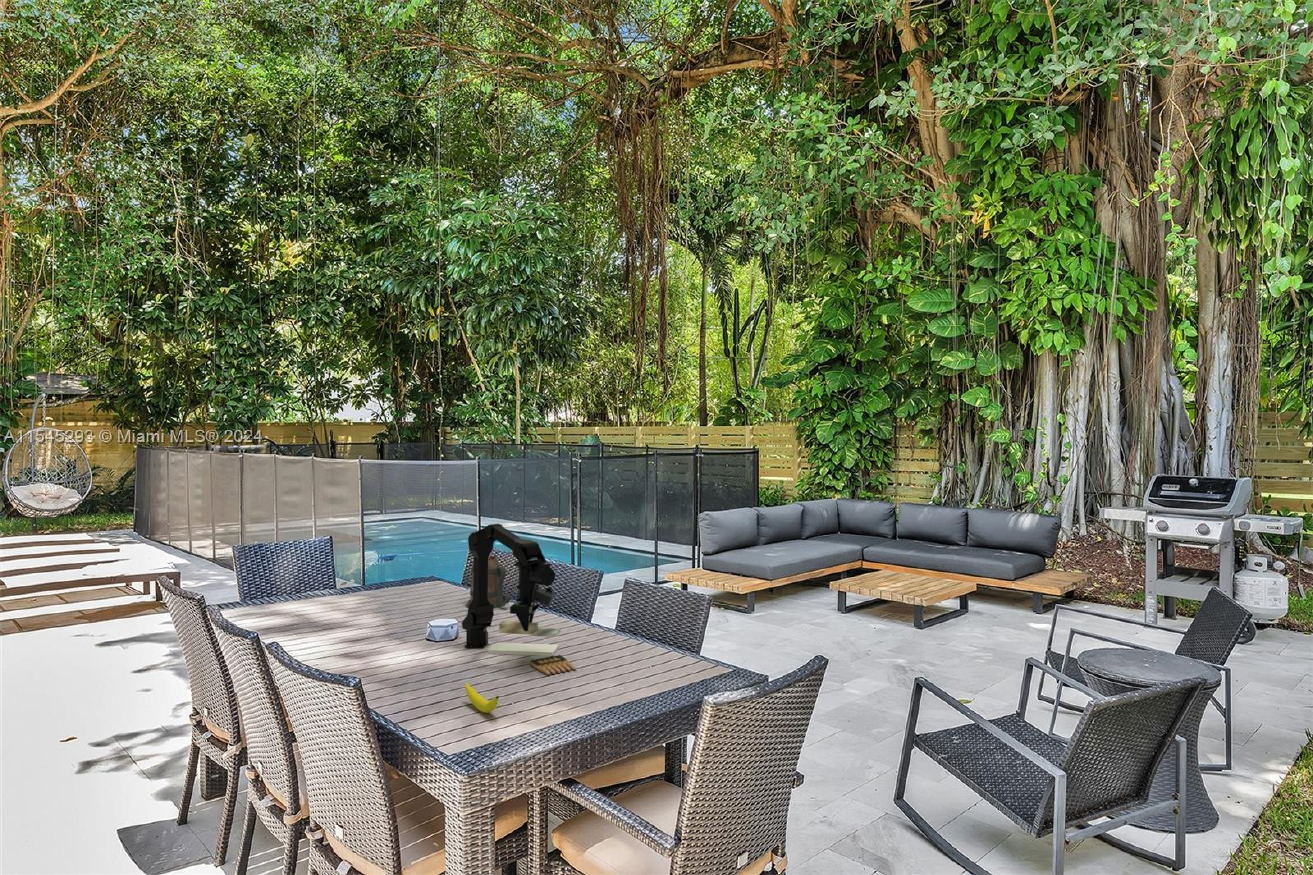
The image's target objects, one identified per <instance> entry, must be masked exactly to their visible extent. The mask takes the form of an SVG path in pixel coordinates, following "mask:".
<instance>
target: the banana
mask: <svg viewBox="0 0 1313 875" xmlns="http://www.w3.org/2000/svg"><path fill="white" fill-rule="evenodd" d="M464 687H465V692H466V695H467V697H468V699H469V701H470V702H471V704H472V705H473V706H474V707H475V708H476V709H477V710H478V711H480V712H481V713H484V714H489V713H491V712H493V711H495V709H496V708H497V707H498V704H499V698H500V697H499V696H496V697H494V698H492V699H491V700H490V701H489V700H488V699H486V698H485V697H484V696H482V695H481V694H480V693H478V692H477V690H475V689H474V688H473V687H472V686H471V685H469V683H468V682H464Z"/></svg>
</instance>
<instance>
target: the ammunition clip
mask: <svg viewBox="0 0 1313 875" xmlns="http://www.w3.org/2000/svg"><path fill="white" fill-rule="evenodd" d="M529 666H530V667H531V668H533V669H534V670H535V671H539V672H540V673H544V674H545V675H546V676H551V674H553V675H556V673H558V674H560V673H561V672H562V673H563V672H564V673H565V672H566V671H568V672H570V671H572V670H573V671H576V670H577V668H576V666H574V665H573V664H572V663H571V662H570V661H568V659H567V658H565V657H564V656H563V655H560V654H557V655H553V656H545V657H542V658H536V659H530V661H529Z"/></svg>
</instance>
